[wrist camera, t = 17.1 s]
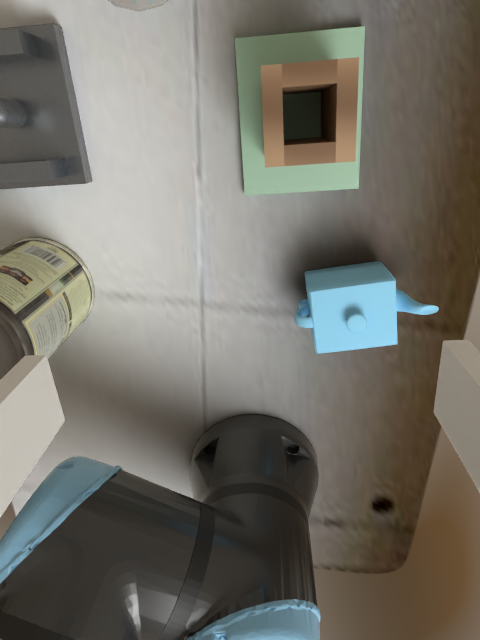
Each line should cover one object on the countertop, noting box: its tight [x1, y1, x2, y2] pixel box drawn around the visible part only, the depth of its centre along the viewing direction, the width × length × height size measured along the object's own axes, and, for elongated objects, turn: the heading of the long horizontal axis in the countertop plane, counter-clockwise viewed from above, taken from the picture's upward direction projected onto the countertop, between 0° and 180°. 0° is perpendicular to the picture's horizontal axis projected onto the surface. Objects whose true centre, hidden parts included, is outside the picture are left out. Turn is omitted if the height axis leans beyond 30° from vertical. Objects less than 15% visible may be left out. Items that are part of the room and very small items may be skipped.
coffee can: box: [0, 238, 95, 380], centre depth 39 cm, size 10×10×14 cm
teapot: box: [295, 261, 439, 354], centre depth 40 cm, size 12×6×8 cm, turn 100°
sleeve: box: [261, 57, 359, 168], centre depth 32 cm, size 6×6×9 cm
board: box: [235, 26, 365, 196], centre depth 37 cm, size 12×10×1 cm
